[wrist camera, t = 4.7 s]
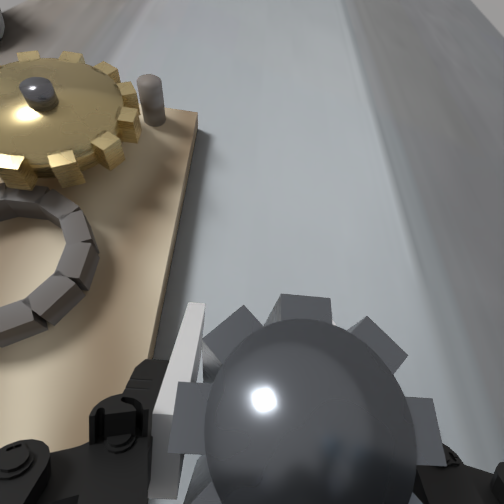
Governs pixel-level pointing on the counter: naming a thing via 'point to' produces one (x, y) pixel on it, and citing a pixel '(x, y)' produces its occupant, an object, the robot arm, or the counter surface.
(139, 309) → the board
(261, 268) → the counter surface
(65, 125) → the gear
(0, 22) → the ceramic mug
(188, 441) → the pinion
